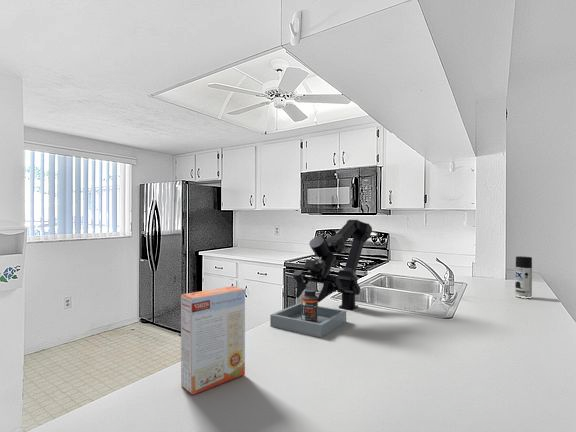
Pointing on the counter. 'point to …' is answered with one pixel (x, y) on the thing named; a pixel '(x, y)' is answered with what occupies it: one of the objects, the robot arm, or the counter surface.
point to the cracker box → (212, 337)
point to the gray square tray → (293, 322)
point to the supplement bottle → (309, 306)
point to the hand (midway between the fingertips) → (307, 299)
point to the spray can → (523, 276)
